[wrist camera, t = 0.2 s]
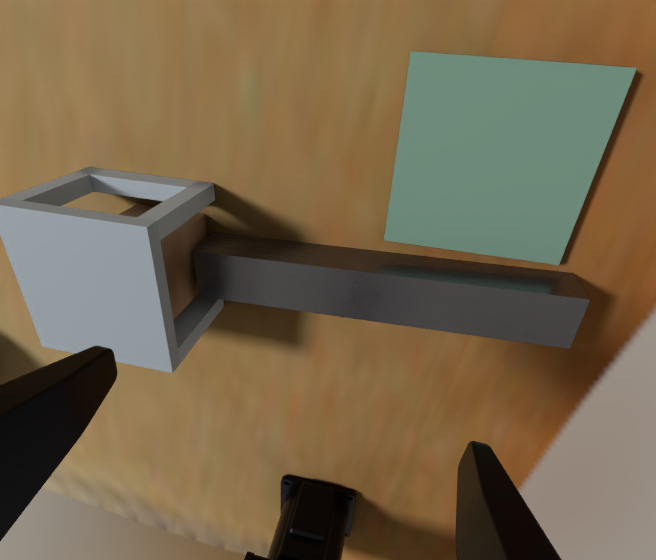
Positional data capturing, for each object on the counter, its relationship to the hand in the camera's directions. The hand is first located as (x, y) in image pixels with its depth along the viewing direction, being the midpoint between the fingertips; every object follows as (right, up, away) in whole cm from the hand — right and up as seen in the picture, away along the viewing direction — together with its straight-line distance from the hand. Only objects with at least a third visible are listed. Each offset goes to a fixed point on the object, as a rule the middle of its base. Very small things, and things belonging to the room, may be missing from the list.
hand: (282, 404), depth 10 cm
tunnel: (-10, +6, +16) cm, 19 cm away
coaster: (+9, +9, +10) cm, 16 cm away
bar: (+4, +4, +14) cm, 15 cm away
